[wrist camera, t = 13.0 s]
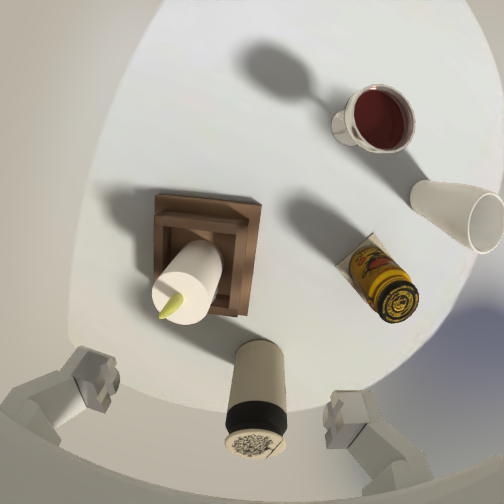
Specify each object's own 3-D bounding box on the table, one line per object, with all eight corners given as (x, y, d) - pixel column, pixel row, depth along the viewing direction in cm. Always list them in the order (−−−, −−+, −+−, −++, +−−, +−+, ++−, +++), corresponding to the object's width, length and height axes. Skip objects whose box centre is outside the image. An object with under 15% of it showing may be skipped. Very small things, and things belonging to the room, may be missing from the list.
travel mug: (228, 363, 46) (212, 450, 29) (249, 331, 44) (239, 423, 27) (268, 379, 47) (267, 464, 30) (292, 349, 44) (300, 440, 27)
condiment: (373, 232, 37) (410, 264, 26) (401, 272, 39) (439, 311, 28) (334, 265, 39) (358, 309, 28) (366, 302, 41) (393, 349, 30)
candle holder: (159, 193, 37) (144, 199, 32) (261, 204, 37) (260, 212, 32) (158, 296, 42) (147, 313, 38) (247, 310, 42) (245, 329, 37)
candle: (210, 291, 40) (184, 361, 26) (171, 267, 39) (126, 326, 25) (234, 257, 38) (215, 319, 24) (192, 230, 37) (150, 278, 23)
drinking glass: (395, 203, 36) (456, 233, 21) (418, 164, 33) (486, 177, 19) (426, 228, 36) (486, 266, 22) (447, 191, 34) (514, 215, 20)
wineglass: (325, 152, 34) (352, 152, 23) (322, 101, 32) (347, 79, 20) (374, 153, 34) (417, 156, 22) (371, 104, 31) (413, 88, 20)
